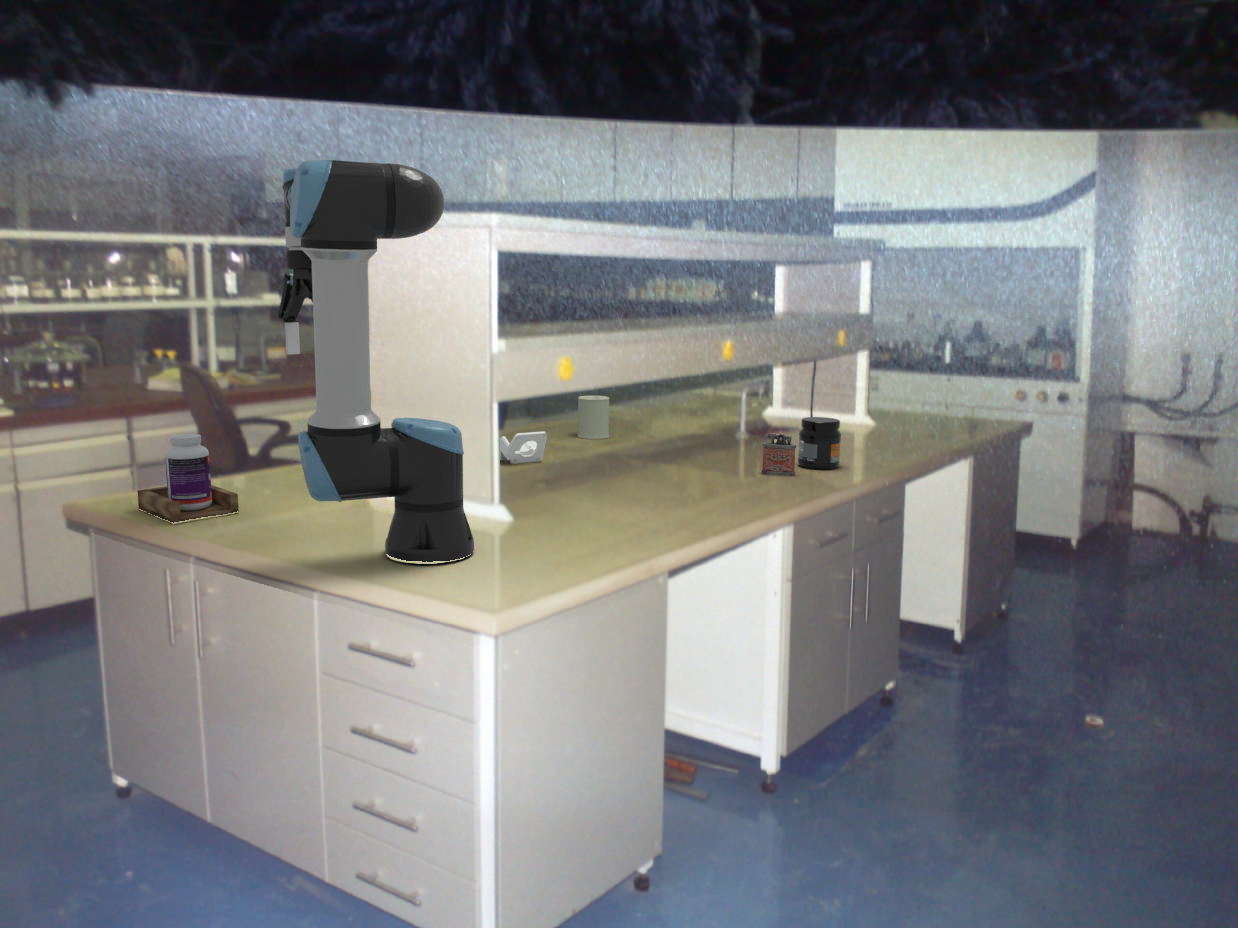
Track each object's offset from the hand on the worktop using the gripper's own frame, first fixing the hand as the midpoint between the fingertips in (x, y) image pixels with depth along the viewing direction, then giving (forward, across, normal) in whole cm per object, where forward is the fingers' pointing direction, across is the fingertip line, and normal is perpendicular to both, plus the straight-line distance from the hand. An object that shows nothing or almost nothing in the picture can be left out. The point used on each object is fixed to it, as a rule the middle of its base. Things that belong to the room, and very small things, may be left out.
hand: (310, 356), depth 211 cm
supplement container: (+30, -49, -113) cm, 127 cm away
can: (+30, +21, -102) cm, 108 cm away
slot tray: (+30, +9, +23) cm, 39 cm away
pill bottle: (+29, +8, +23) cm, 38 cm away
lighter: (+30, -48, -97) cm, 113 cm away
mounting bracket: (+30, +6, -60) cm, 67 cm away
